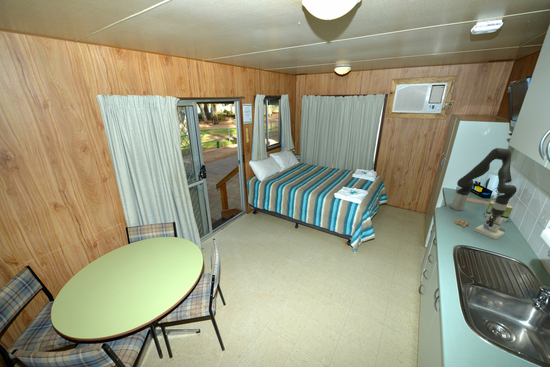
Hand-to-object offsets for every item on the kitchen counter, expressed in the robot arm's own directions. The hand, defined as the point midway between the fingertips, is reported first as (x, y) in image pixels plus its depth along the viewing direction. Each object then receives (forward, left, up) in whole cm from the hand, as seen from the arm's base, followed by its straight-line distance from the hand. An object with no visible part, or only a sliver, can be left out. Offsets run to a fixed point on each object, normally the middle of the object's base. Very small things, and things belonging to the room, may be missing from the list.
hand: (491, 225), depth 181 cm
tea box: (-10, +37, -7) cm, 39 cm away
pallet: (-18, -5, -7) cm, 20 cm away
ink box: (0, 0, -3) cm, 3 cm away
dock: (0, 0, -7) cm, 7 cm away
